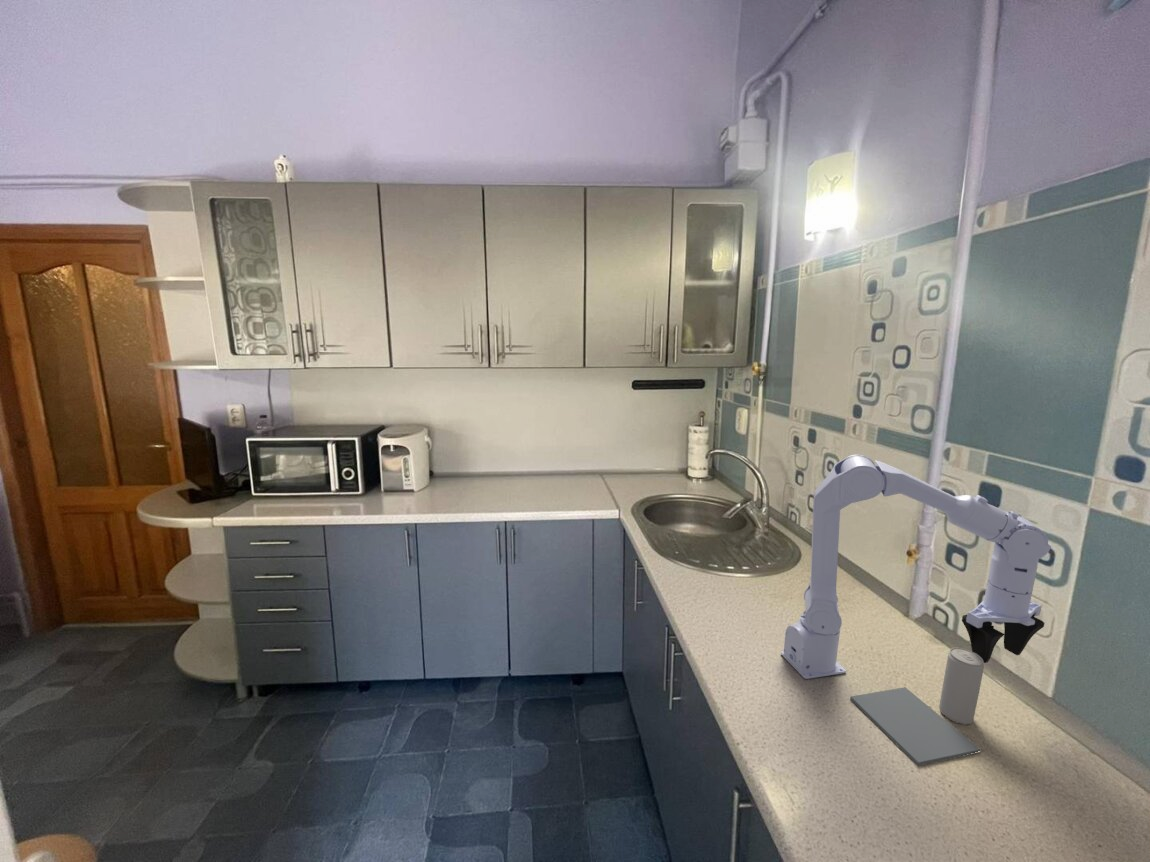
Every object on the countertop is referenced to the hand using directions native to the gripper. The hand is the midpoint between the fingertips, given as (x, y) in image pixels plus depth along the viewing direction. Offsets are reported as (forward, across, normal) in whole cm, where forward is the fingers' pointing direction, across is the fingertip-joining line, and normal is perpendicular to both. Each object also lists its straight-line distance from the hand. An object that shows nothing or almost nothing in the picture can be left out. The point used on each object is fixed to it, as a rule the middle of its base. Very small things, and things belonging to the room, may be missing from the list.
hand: (996, 655), depth 83 cm
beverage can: (+11, -8, 0) cm, 13 cm away
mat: (+10, -17, 0) cm, 20 cm away
